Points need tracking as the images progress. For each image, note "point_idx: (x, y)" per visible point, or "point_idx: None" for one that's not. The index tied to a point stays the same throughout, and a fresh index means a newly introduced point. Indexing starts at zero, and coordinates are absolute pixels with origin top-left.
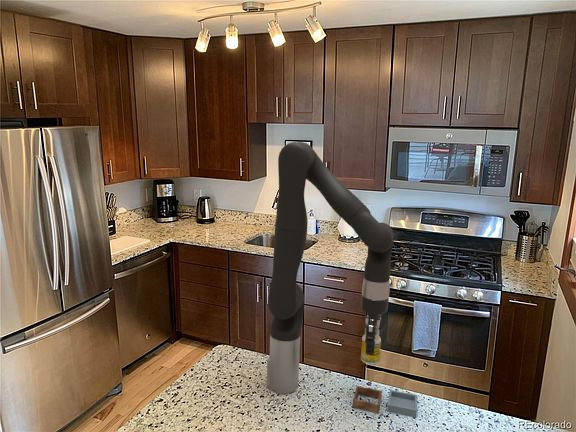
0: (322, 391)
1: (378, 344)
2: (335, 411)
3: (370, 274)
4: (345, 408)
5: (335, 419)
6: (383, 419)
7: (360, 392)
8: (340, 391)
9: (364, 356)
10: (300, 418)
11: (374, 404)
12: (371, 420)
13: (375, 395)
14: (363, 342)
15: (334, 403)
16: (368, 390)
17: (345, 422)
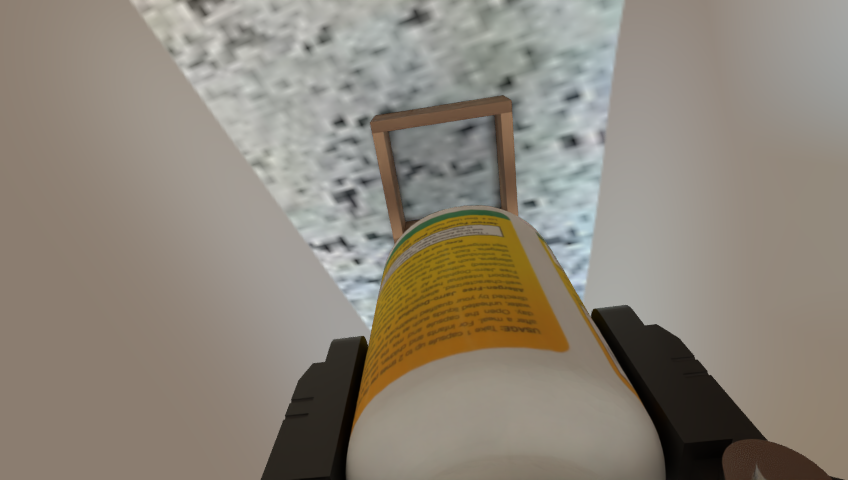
0: None
1: None
2: (301, 44)
3: None
4: (352, 85)
5: (245, 67)
6: (369, 254)
7: (496, 123)
8: (483, 5)
9: (383, 282)
10: None
11: (391, 226)
12: (336, 215)
13: (502, 196)
14: (385, 370)
15: (360, 13)
16: (504, 167)
17: (256, 120)
